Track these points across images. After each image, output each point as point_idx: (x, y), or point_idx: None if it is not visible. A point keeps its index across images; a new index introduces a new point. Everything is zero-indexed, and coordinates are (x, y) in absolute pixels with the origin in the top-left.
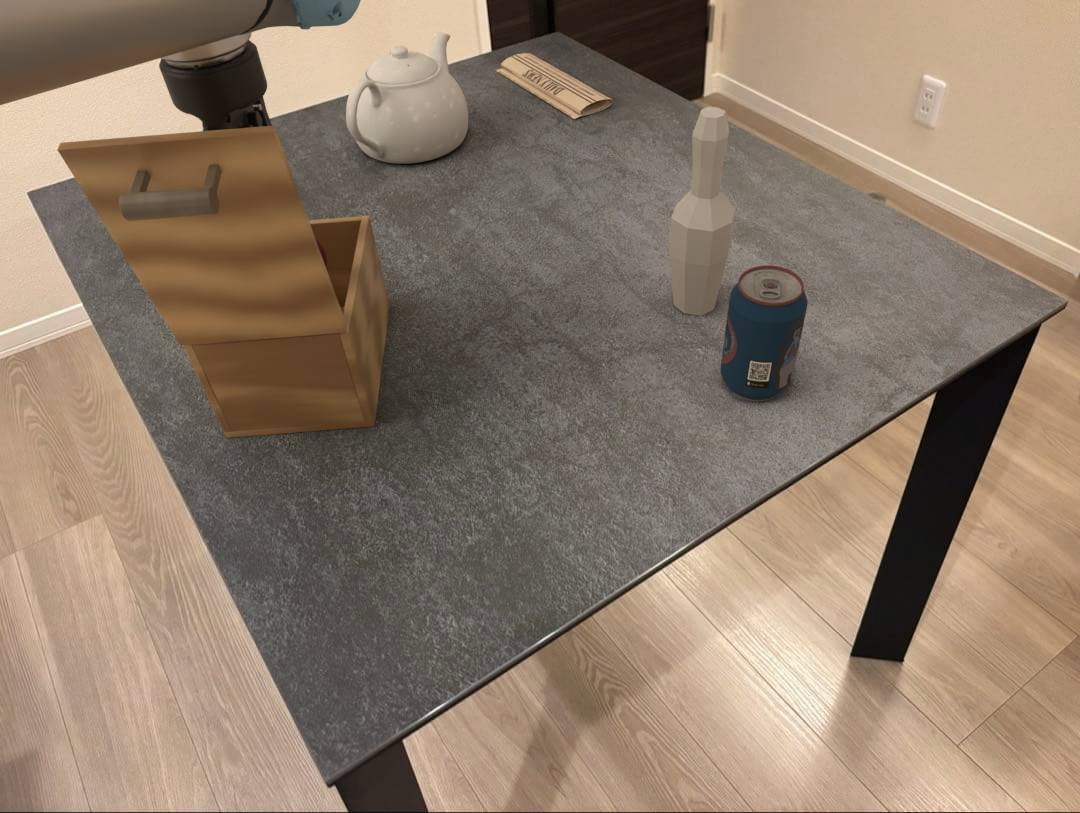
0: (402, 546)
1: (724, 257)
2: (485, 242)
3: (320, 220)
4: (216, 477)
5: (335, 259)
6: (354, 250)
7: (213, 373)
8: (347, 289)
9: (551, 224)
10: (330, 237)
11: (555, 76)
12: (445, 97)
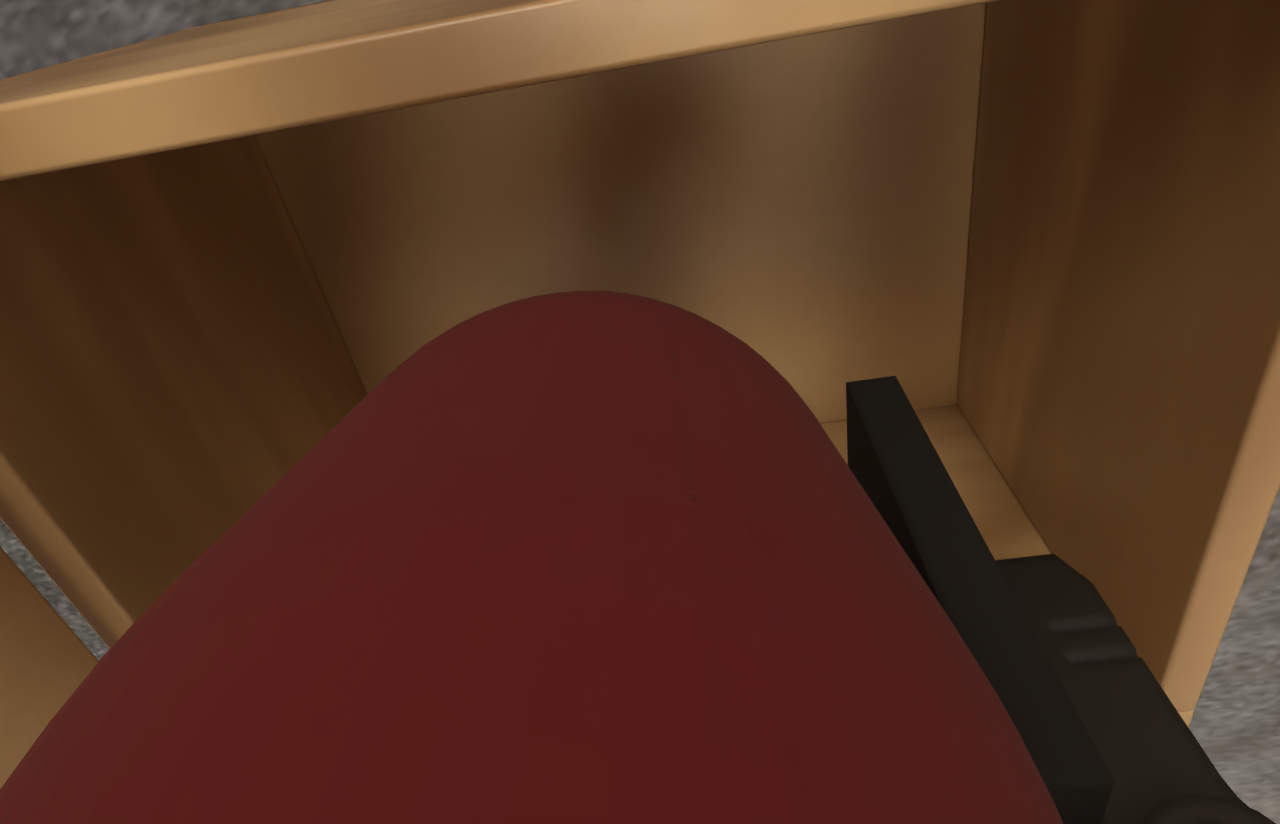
0: (71, 604)
1: None
2: (1248, 598)
3: (1242, 548)
4: (10, 70)
5: (1068, 422)
6: (1073, 530)
7: None
8: (994, 348)
9: (1266, 720)
10: (1139, 510)
11: None
12: None
